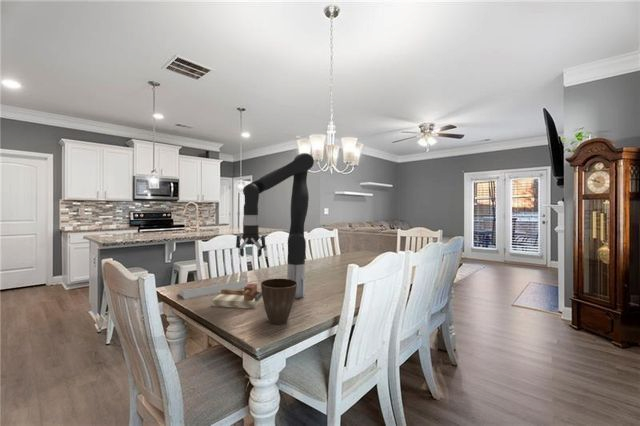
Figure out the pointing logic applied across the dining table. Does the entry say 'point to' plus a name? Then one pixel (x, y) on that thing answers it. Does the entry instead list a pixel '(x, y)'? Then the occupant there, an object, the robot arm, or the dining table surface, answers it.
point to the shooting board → (236, 299)
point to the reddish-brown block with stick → (250, 291)
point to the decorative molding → (211, 289)
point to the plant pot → (278, 298)
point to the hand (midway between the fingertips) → (250, 256)
